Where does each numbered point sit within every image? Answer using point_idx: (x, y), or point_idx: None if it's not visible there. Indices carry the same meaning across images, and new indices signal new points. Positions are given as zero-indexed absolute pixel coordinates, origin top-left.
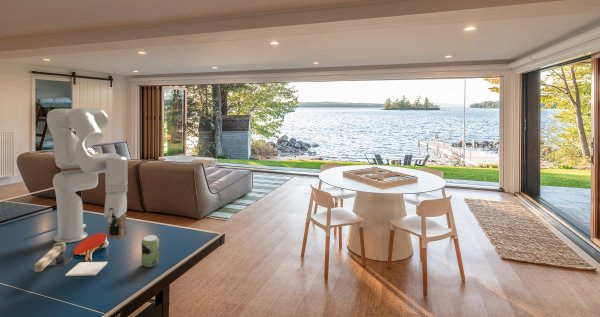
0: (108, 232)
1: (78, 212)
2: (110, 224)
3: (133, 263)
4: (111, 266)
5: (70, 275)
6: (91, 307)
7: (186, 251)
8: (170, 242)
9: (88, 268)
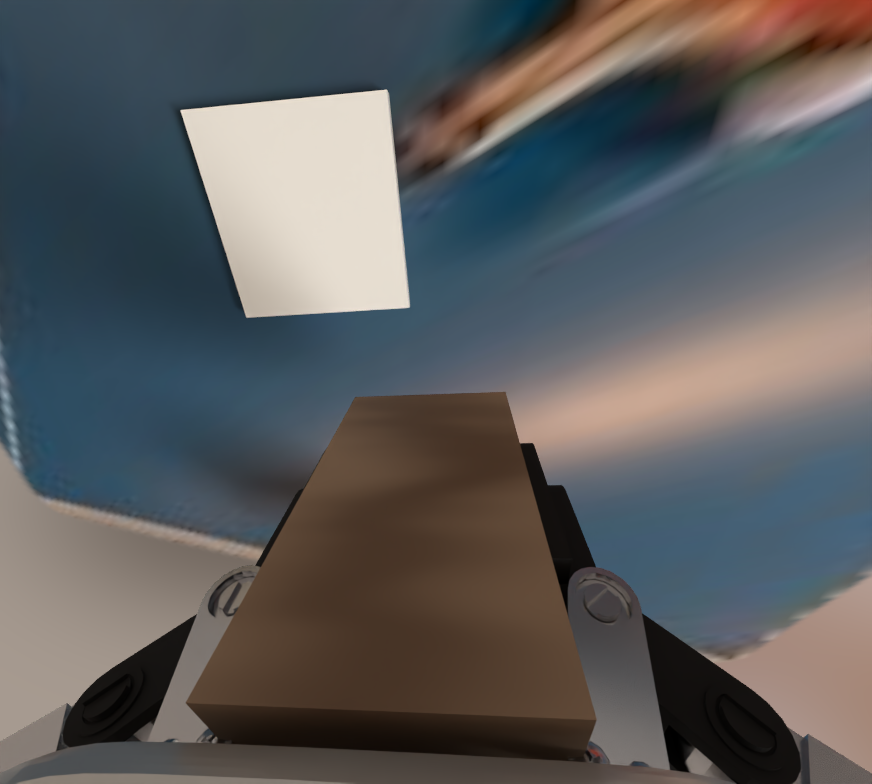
0: (333, 447)
1: None
2: (166, 648)
3: None
4: (369, 349)
5: (199, 154)
6: (21, 436)
7: None
8: (683, 521)
9: (300, 233)
